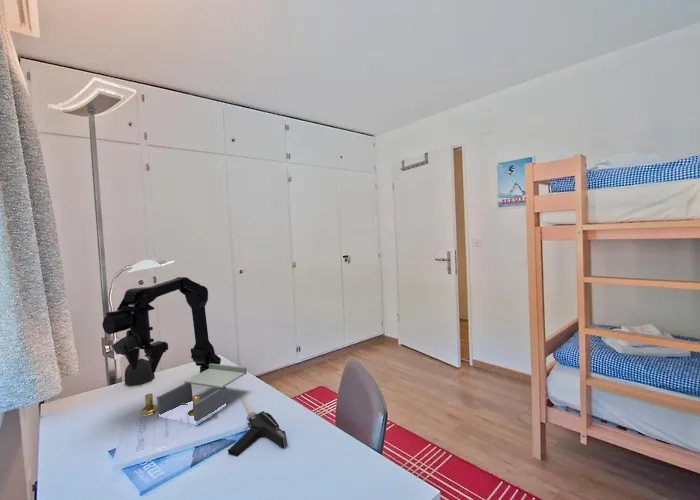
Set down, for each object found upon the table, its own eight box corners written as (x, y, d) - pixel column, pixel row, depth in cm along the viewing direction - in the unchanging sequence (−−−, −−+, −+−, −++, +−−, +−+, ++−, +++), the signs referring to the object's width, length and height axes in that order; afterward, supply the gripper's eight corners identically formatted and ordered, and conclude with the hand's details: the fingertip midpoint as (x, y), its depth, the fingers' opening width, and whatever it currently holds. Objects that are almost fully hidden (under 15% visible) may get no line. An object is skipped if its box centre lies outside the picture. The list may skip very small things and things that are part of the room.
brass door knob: (151, 408, 123) (150, 390, 123) (163, 410, 121) (161, 392, 121) (136, 416, 118) (135, 397, 118) (148, 419, 116) (146, 399, 116)
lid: (211, 368, 137) (210, 363, 137) (246, 373, 131) (246, 367, 131) (184, 382, 125) (183, 376, 125) (221, 388, 119) (221, 382, 119)
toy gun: (239, 460, 88) (291, 430, 97) (211, 424, 104) (258, 402, 113) (242, 477, 89) (293, 445, 98) (214, 439, 105) (260, 415, 114)
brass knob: (197, 410, 118) (196, 391, 118) (210, 413, 116) (209, 393, 116) (184, 419, 113) (182, 399, 113) (197, 421, 111) (195, 401, 111)
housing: (190, 400, 127) (188, 381, 127) (227, 407, 121) (225, 386, 121) (158, 419, 115) (156, 397, 115) (197, 427, 109) (196, 404, 109)
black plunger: (124, 381, 149) (119, 323, 148) (153, 374, 155) (149, 318, 154) (124, 390, 140) (119, 328, 138) (156, 382, 146) (151, 323, 144)
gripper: (96, 330, 115) (101, 377, 115) (136, 334, 107) (140, 384, 108) (129, 322, 125) (133, 365, 126) (167, 324, 118) (171, 370, 118)
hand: (143, 371), depth 119 cm, fingers open, 9 cm apart
